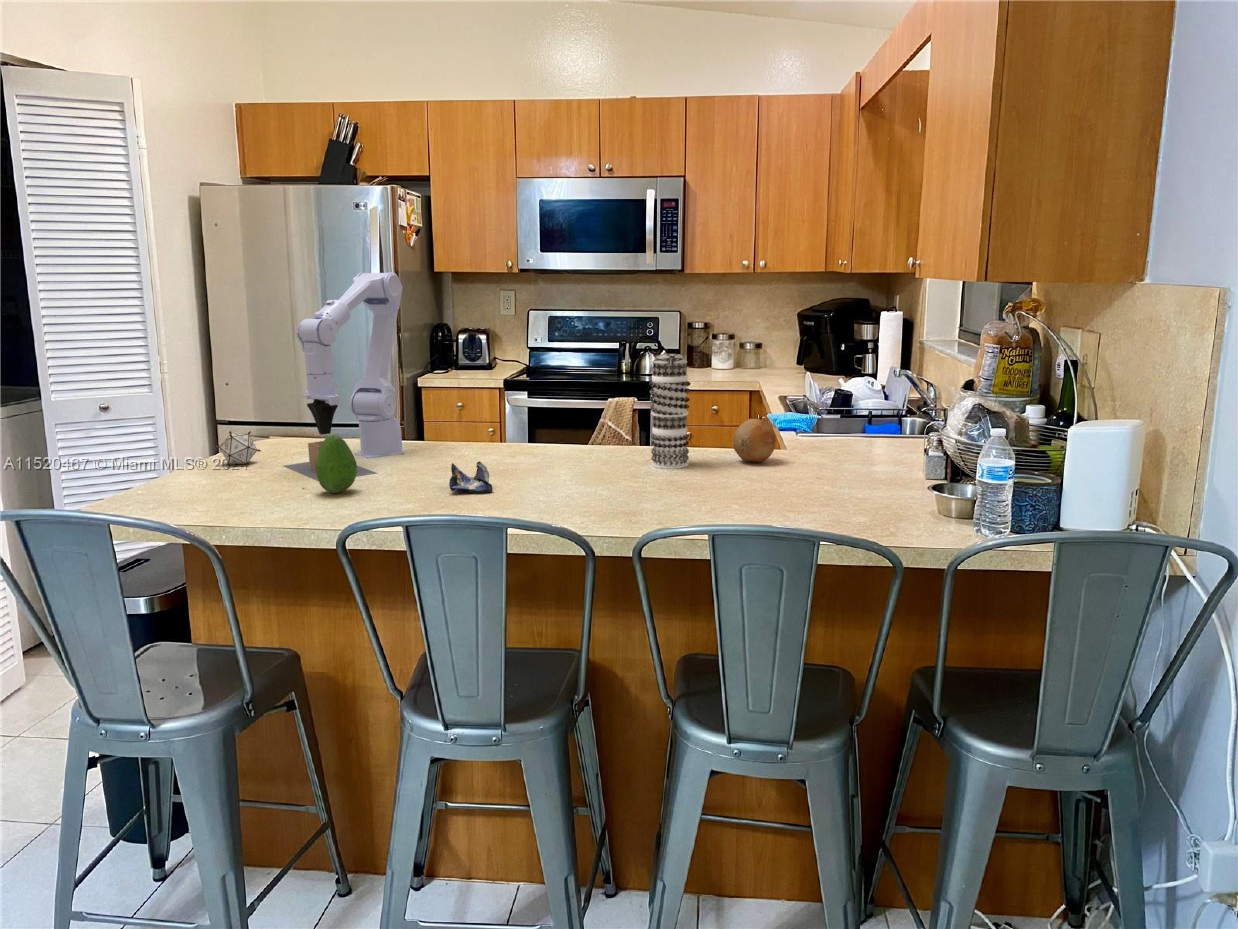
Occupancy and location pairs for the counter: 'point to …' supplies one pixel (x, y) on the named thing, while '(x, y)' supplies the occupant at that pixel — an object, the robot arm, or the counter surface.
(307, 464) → the mat
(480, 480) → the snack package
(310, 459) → the letter cube
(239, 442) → the game die
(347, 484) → the avocado
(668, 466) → the decorative candle
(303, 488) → the counter surface
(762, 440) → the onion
